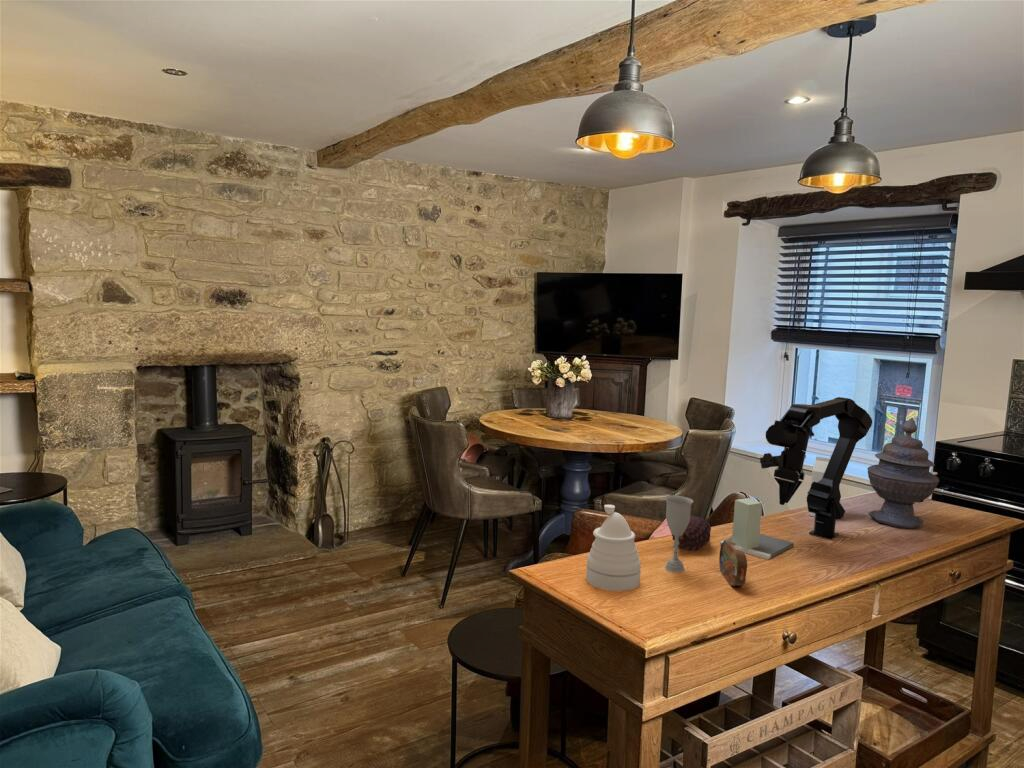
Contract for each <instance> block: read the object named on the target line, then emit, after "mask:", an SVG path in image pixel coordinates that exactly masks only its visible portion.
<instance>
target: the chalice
mask: <svg viewBox="0 0 1024 768" xmlns="http://www.w3.org/2000/svg"><path fill="white" fill-rule="evenodd" d="M664 500H665V502H666V505H665V506H666V511H665V519H666V523H667V526H668V529H669V530H670V534H671V535H672V534H673V535H675V540H673V548H672V552H673V556H672V557H671V558H669V559H668V560H667V562H666V565H665V566H664V569H665V570H666V571H668V572H671V573H677V574H678V573H684V572H685V571H686V569H685V567H684V564H683V561H682V559H680V558H679V557H678V555H679V552H680V549H679V546H678V545H679V544H680V543H679V540H678V538H679V536H681V535H683V533H684V532H685V530H686V528H687V526H688V524H689V521H690V515H691V514H692V513H691V511H692V505H693V503H694V500H693V499H692V498H690V497H687V496H682V495H668V496H665V497H664Z"/></svg>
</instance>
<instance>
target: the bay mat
mask: <svg viewBox="0 0 1024 768" xmlns="http://www.w3.org/2000/svg"><path fill="white" fill-rule="evenodd" d="M724 541H727V542H732V536H730V537H728V538H726V539H724V540H721V541H720V542H719V546H720V547H721V545H722V543H723V542H724ZM790 547H791V548H792V547H794V542H793V541H789V540H784V539H782V538H777V537H773V536H770V535H766V534H762V533H760V537H759V547H757V548H751V549H746V550H745V549H743V548H741V547H739V548H740V549H741V550H742V551H743V552H744V554H748V555H751V556H754V557H758V558H760V559H764V560H769V559H772V558H774V557H776V556H777V554H778V555H779V554H781V553H783V552H785V551H787V550H788V548H789V549H790Z"/></svg>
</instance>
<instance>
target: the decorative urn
mask: <svg viewBox="0 0 1024 768" xmlns="http://www.w3.org/2000/svg"><path fill="white" fill-rule="evenodd" d="M901 429H902V431H904V433H905V434H904V435H897V436H894V437H892V438H891V442H888V443H885V445H883V447H882V451H881V452H877V453H875V454H874V457H875V458H876V459H878V460H879V461H878V464H873V465H870V466H868V467H867V475H868V476H867V477H868V479H869V484H870V486H871V487H872V489H873V490H874V492H875V493H876V494H877V496H878V497H879V498H880V499H883V500H884V501H883V504H882V506H881V508H880V509H878V510H871V511H868V515H869V516H870V517H871V518H872V519H874V520H875V521H876V522H878V523H880V524H884V525H889V526H892V527H895V528H899V529H916V528H919V527H921V526H922V525H923V524H924V522H925V521H924V519H923V518H921V517H920V516H916V515H915V511H914V510H915V509H914V504H916V503H918V504H919V503H923V502H924V501H925V499H928V498H929V497H930V496H932V495H933V494H934V491H935V489H936V488H937V486H938V485H939V483H940V479H939V477H938V476H937V475H935V474H933V473H931V472H930V469H931V467H935V465H936V464H935V463H934V462H933V461H932V460H930V459H929V456H930V455H929V454H930V453H929V452H928V450H927V449H926V448H924V447H923V446H924V444H923V441H922V440H920V439H918V438H914V437H912V434H914V433H916V432H917V430H918V425H917V423H916V422H915V420H914V417H911V418H909V419H907V420H906V421H905V422H904V423H902V425H901Z"/></svg>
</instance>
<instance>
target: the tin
mask: <svg viewBox="0 0 1024 768" xmlns="http://www.w3.org/2000/svg"><path fill="white" fill-rule="evenodd" d="M723 541H724V540H723ZM718 555H719V558H718V561H719V562H718V563H719V570H720V573H721V574H722V576H723V577H724V579H725V580H726V582H727V583H728V584H729V586H733V587H735V586H736V587H742V586H744V585H745V583H746V578H747V569H748V559H747V556H746V553H744V552H743V551H742V550H741V549H740V548H739V547H738V545H737V544H736V543H734V542H727V541H724V542H723V543H722V545H721V546H720V550H719V554H718Z"/></svg>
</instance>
